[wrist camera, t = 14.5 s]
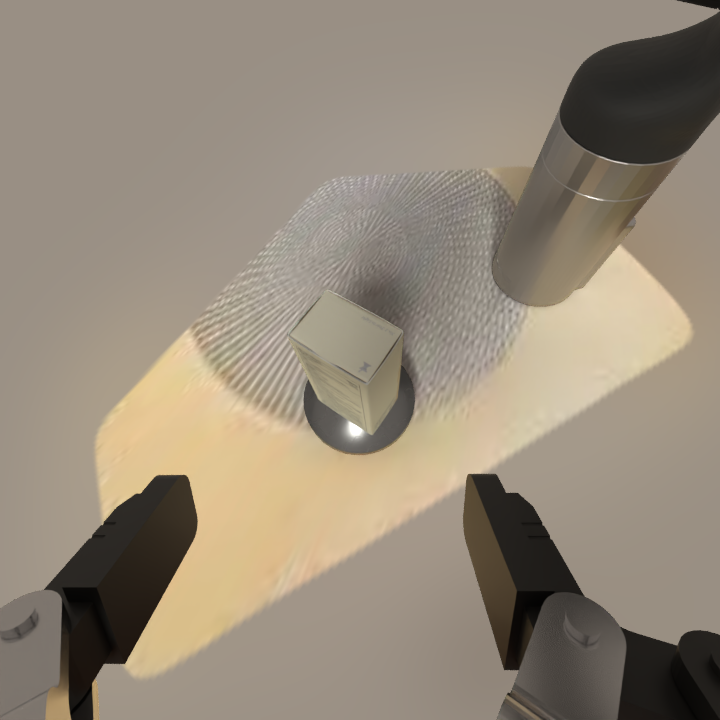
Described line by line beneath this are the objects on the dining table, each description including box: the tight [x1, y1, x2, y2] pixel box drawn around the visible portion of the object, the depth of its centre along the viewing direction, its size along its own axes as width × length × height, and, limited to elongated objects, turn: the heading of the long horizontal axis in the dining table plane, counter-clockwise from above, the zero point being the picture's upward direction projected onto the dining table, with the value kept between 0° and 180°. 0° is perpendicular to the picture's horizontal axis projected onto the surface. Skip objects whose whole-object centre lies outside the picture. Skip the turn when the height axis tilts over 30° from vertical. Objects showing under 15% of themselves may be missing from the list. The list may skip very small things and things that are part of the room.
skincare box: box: [287, 289, 404, 435], centre depth 28 cm, size 6×4×12 cm
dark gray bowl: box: [304, 365, 415, 455], centre depth 35 cm, size 10×10×3 cm
